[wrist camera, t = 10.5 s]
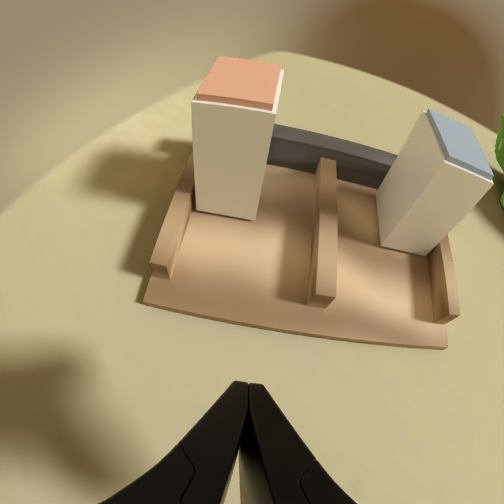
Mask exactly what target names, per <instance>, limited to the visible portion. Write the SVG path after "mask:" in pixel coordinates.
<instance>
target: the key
mask: <svg viewBox="0 0 504 504" xmlns="http://www.w3.org/2000/svg"><path fill="white" fill-rule="evenodd" d="M283 73H284V70H282V69H281V65H279V64H273V63H267V62H261V61H255V60H248V59H240V58H232V57H223V56H219V58H218V60H217V61H216V62H215V64H214V66H213V67H212V69H211V70H210V72H209V73H208V75H207V77H206V78H205V80H204V81H203V83H202V85H201V86H200V88H199V90H198V91H197V93H196V95H195V96H194V98H193V100H192V102H191V111H192V139H193V161H194V179H195V195H196V210H199V211H204V212H210V213H216V214H221V215H227V216H232V217H238V218H243V219H249V220H254V221H255V220H256V215H257V209H258V204H259V199H260V194H261V189H262V184H263V178H264V173H265V168H266V163H267V158H268V153H269V148H270V142H271V137H272V132H273V127H274V122H275V117H276V112H277V106H278V101H279V95H280V90H281V84H282V79H283Z"/></svg>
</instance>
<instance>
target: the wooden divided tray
mask: <svg viewBox="0 0 504 504" xmlns="http://www.w3.org/2000/svg"><path fill="white" fill-rule="evenodd" d="M397 156H398V155H395V154H392V153H389V152H385V151H382V150H379V149H375V148H372V147H369V146H365V145H362V144H358V143H354V142H351V141H347V140H343V139H339V138H336V137H332V136H328V135H323V134H319V133H315V132H311V131H306V130H302V129H297V128H292V127H287V126H282V125H277V124H274V127H273V132H272V137H271V142H270V148H269V153H268V158H267V163H266V168H265V173H264V178H263V184H262V189H261V194H260V199H259V204H258V209H257V215H256V220H255V221H254V220H249V219H243V218H238V217H232V216H227V215H221V214H216V213H210V212H204V211H199V210H196V195H195V179H194V161H193V150H192V152H191V155H190V157H189V159H188V162H187V164H186V167H185V169H184V171H183V174H182V176H181V179H180V181H179V184H178V186H177V189H176V191H175V194H174V196H173V199H172V201H171V204H170V206H169V209H168V212H167V214H166V217H165V220H164V222H163V225H162V228H161V230H160V233H159V236H158V239H157V242H156V244H155V247H154V250H153V253H152V256H151V259H150V262H149V263H150V265H151V268H152V273H151V276H150V279H149V283H148V286H147V289H146V292H145V296H144V299H143V303H144V304H145V305H148V306H152V307H156V308H161V309H165V310H169V311H174V312H178V313H183V314H188V315H192V316H197V317H202V318H207V319H212V320H217V321H222V322H227V323H232V324H238V325H243V326H249V327H254V328H260V329H266V330H272V331H278V332H285V333H291V334H298V335H304V336H311V337H319V338H326V339H334V340H342V341H350V342H359V343H368V344H377V345H388V346H399V347H411V348H424V349H440V350H443V349H446V348H448V337H447V323H448V322H449V321H451V320H453V319H455V318H456V317H458V316H460V311H459V302H458V294H457V286H456V279H455V272H454V266H453V260H452V255H451V250H450V244H449V240H448V235H446V236H445V237H444V238H443V239H442V240H441V241H440V242H439V243H438V244H437V245H436V246H435V247H434V248H433V249H432V250H431V251H430V252H429V253H428V254H427V255H426V256H423V255H419V254H415V253H410V252H406V251H401V250H397V249H393V248H388V247H384V246H381V245H380V232H379V222H378V212H377V203H376V194H375V193H376V191H377V190H378V188H379V186H380V185H381V183H382V181H383V180H384V178H385V176H386V175H387V173H388V171H389V170H390V168H391V166H392V165H393V163H394V161H395V159H396V158H397Z"/></svg>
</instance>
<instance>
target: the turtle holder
mask: <svg viewBox="0 0 504 504" xmlns="http://www.w3.org/2000/svg"><path fill="white" fill-rule="evenodd" d="M495 153H496V159H497V161H498V163H499V165H500V166H501V168H502V170H503V171H504V113H502V114H501V129H500V131H499V134H498V136H497V140H496V145H495ZM500 202H501V205H502V207H503V209H504V191H503V193H502V195H501V198H500Z"/></svg>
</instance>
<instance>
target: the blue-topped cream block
mask: <svg viewBox="0 0 504 504" xmlns="http://www.w3.org/2000/svg"><path fill="white" fill-rule="evenodd" d="M493 177H494V174H493V172H492V170H491V168H490V166H489V163H488V161H487V159H486V157H485V155H484V153H483V151H482V149H481V147H480V145H479V143H478V141H477V139H476V137H475V135H474V133H473V132H472V130H471V128H470V127H468V126H466V125H464V124H462V123H460V122H458V121H455V120H453V119H451V118H449V117H447V116H445V115H442V114H440V113H438V112H436V111H433V110H431V109H428V111H427V112H425V111H422V113H421V115H420V117H419V118H418V120H417V122H416V124H415V126H414V128H413V129H412V131H411V133H410V135H409V137H408V138H407V140H406V142H405V144H404V145H403V147H402V149H401V151H400V153H399V154H398V156H397V158H396V159H395V161H394V163H393V165H392V166H391V168H390V170H389V171H388V173H387V175H386V176H385V178H384V180H383V181H382V183H381V185H380V186H379V188H378V190H377V191H376V193H375V194H376V203H377V212H378V222H379V232H380V245H381V246H384V247H388V248H393V249H397V250H401V251H406V252H410V253H415V254H419V255H423V256H426V255H427V254H428V253H429V252H430V251H431V250H432V249H433V248H434V247H435V246H436V245H437V244H438V243H439V242H440V241H441V240H442V239H443V238H444V237H445V236H446V235H447V234H448V233H449V232H450V231H451V230H452V229H453V228H454V227H455V226H456V225H457V224H458V223H459V222H460V221H461V220H462V219H463V218H464V217H465V216H466V214H467V213H468V212H469V211H470V210H471V209H472V208H473V207H474V206H475V205H476V204H477V203H478V201H479V200H480V199H481V198H482V197H483V196H484V195H485V194H486V192H487V191H488V190H489V189H490V188H491V187H492V186H493V184H494V183H493V181H492V178H493Z"/></svg>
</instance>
